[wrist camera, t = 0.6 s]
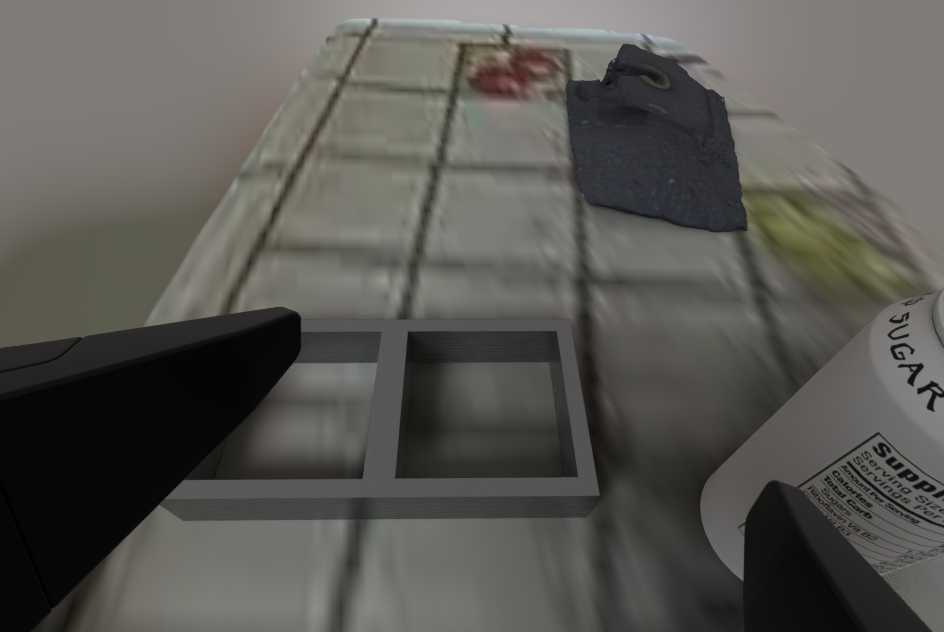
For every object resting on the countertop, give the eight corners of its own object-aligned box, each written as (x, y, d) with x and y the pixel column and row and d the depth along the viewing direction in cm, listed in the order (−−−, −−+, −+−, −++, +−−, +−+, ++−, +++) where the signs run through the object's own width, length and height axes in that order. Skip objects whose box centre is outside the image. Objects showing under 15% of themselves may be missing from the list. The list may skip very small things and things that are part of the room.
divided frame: (586, 517, 24) (599, 495, 21) (183, 520, 23) (150, 499, 21) (561, 350, 29) (569, 319, 27) (240, 351, 29) (220, 320, 27)
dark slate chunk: (544, 220, 38) (553, 165, 34) (566, 82, 51) (574, 33, 47) (755, 248, 36) (789, 194, 32) (721, 98, 49) (741, 48, 46)
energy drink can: (832, 502, 24) (1180, 303, 12) (825, 633, 21) (1296, 530, 9) (705, 449, 26) (905, 229, 14) (680, 562, 22) (916, 396, 11)
